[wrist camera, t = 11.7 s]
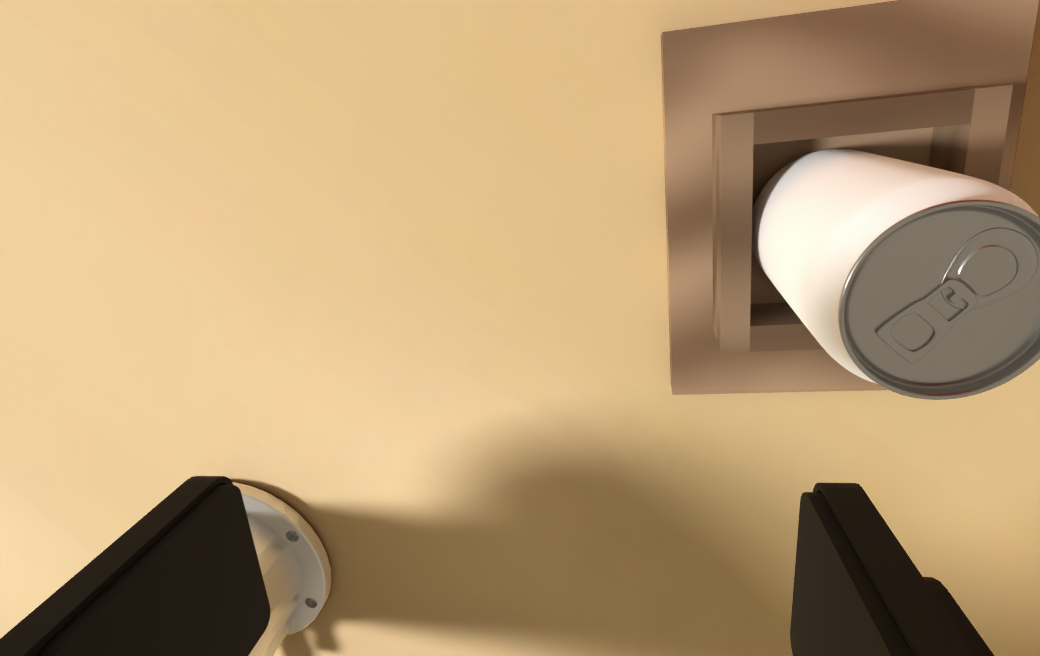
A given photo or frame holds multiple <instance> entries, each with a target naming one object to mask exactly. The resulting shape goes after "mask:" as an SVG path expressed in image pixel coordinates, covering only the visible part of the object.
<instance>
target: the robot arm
mask: <svg viewBox="0 0 1040 656" xmlns="http://www.w3.org/2000/svg"><path fill="white" fill-rule="evenodd" d="M330 587H331V568H330V564H329V560H328V556H327V553H326V551H325V549H324V547H323V545H322V543H321V541H320V539H319V538H318V536H317V535H316V533H315V532H314V530H313V529H312V528H311V526H310V525H309V524H308V523H307V522H306V521H305V520H304V519H303V518H302V517H301V516H300V515H299V513H297V512H296V511H295V510H294V509H292V508H291V507H290V506H288V505H287V504H286V503H285V502H283V501H282V500H280V499H278V498H276V497H275V496H273V495H271V494H269V493H267V492H265V491H262V490H260V489H257V488H255V487H252V486H249V485H244V484H240V483H235V482H232V481H231V480H230V479H229V478H227V477H225V476H195V477H191V478H190V479H188V480H186V481H185V482H184V483H183V484H182V485H181V486H179V487H178V488H177V489H176V490H175V491H174V492H172V493H171V494H170V495H169V496H168V497H167V498H165V499H164V500H163V501H162V502H161V503H159V504H158V505H157V506H156V507H155V508H154V509H152V510H151V511H150V512H149V513H148V514H147V515H145V516H144V517H143V518H142V519H141V520H139V521H138V522H137V523H136V524H135V525H134V526H132V527H131V528H130V529H129V530H128V531H127V532H125V533H124V534H123V535H122V536H121V537H120V538H118V539H117V540H116V541H115V542H114V543H112V544H111V545H110V546H109V547H108V548H107V549H105V550H104V551H103V552H102V553H101V554H100V555H98V556H97V557H96V558H95V559H94V560H92V561H91V562H90V563H89V564H88V565H87V566H85V567H84V568H83V569H82V570H81V571H80V572H78V573H77V574H76V575H75V576H74V577H73V578H71V579H70V580H69V581H68V582H67V583H65V584H64V585H63V586H62V587H61V588H60V589H58V590H57V591H56V592H55V593H54V594H53V595H51V596H50V597H49V598H48V599H47V600H46V601H44V602H43V603H42V604H41V605H40V606H38V607H37V608H36V609H35V610H34V611H33V612H31V613H30V614H29V615H28V616H27V617H26V618H24V619H23V620H22V621H21V622H20V623H18V624H17V625H16V626H15V627H14V628H13V629H11V630H10V631H9V632H8V633H7V634H6V635H4V636H3V637H2V638H1V639H0V656H273V655H274V653H275V651H276V650H277V648H278V647H279V645H280V644H281V642H282V641H283V639H284V638H285V636H287V635H291V634H294V633H296V632H298V631H300V630H302V629H304V628H306V627H307V626H308V625H309V624H310V623H311V622H312V621H314V620H315V618H316V617H317V615H318V614H319V612H320V611H321V609H322V608H323V606H324V604H325V602H326V600H327V598H328V596H329V592H330ZM790 637H791V647H792V652H793V656H994V655H993V653H992V652H991V650H990V649H989V648H988V646H987V645H986V643H985V642H984V641H983V639H982V638H981V636H980V635H979V634H978V632H977V631H976V629H975V628H974V627H973V625H972V624H971V622H970V621H969V620H968V618H967V617H966V615H965V614H964V613H963V611H962V610H961V608H960V607H959V606H958V604H957V603H956V601H955V600H954V599H953V597H952V596H951V594H950V593H949V592H948V590H947V589H946V588H945V587H944V586H943V585H942V583H941V582H940V581H938V580H936V579H934V578H932V577H922V575H921V574H920V572H919V571H918V569H917V568H916V567H915V565H914V564H913V562H912V561H911V559H910V558H909V556H908V555H907V553H906V552H905V550H904V549H903V547H902V546H901V544H900V543H899V542H898V540H897V539H896V537H895V536H894V534H893V533H892V531H891V530H890V528H889V527H888V525H887V524H886V522H885V521H884V519H883V518H882V516H881V515H880V514H879V512H878V511H877V509H876V508H875V506H874V505H873V503H872V502H871V500H870V499H869V497H868V496H867V494H866V493H865V491H864V490H863V488H862V487H861V486H860V485H859V484H856V483H817V484H816V485H815V487H814V489H813V492H804V493H803V494H802V496H801V501H800V513H799V526H798V539H797V552H796V565H795V578H794V591H793V604H792V617H791V630H790Z"/></svg>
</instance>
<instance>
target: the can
mask: <svg viewBox="0 0 1040 656" xmlns="http://www.w3.org/2000/svg"><path fill="white" fill-rule="evenodd" d="M752 250H753V253H754V255H755V258H756V260H757V262H758V263H759V265H760V266H761V268H762V269H763V271H764V272H765V274H766V275H767V276H768V278H769V279H770V280H771V282H772V283H773V284H774V286H775V287H776V288H777V290H778V291H779V292H780V294H781V295H782V296H783V298H784V299H785V300H786V302H787V303H788V304H789V305H790V307H791V308H792V309H793V311H794V312H795V313H796V315H797V316H798V317H799V318H800V320H801V321H802V322H803V324H804V325H805V326H806V327H807V329H808V330H809V331H810V332H811V334H812V335H813V336H814V337H815V339H816V340H817V341H818V342H819V344H820V345H821V346H822V347H823V348H824V349H825V351H826V352H827V353H828V354H829V355H830V356H831V357H832V358H833V359H834V360H835V361H836V362H838V363H839V364H840V365H841V366H843V367H844V368H845V369H847V370H848V371H850V372H851V373H853V374H855V375H857V376H859V377H861V378H863V379H865V380H868V381H870V382H873V383H876V384H879V385H880V386H882V387H884V388H886V389H888V390H891V391H893V392H896V393H898V394H902V395H905V396H909V397H914V398H920V399H933V400H942V399H955V398H962V397H967V396H971V395H975V394H979V393H982V392H985V391H988V390H991V389H993V388H995V387H998V386H1000V385H1002V384H1004V383H1006V382H1008V381H1010V380H1011V379H1013V378H1015V377H1016V376H1018V375H1020V374H1021V373H1023V372H1024V371H1025V370H1027V369H1028V368H1029V367H1031V366H1032V365H1033V364H1034V363H1035V362H1036V361H1038V360H1039V359H1040V217H1039V216H1038V215H1037V214H1036V212H1035V211H1034V210H1033V209H1032V208H1031V207H1030V206H1029V205H1028V204H1027V203H1026V202H1025V201H1023V200H1022V199H1021V198H1019V197H1018V196H1017V195H1015V194H1013V193H1012V192H1010V191H1008V190H1006V189H1004V188H1002V187H1000V186H998V185H996V184H993V183H991V182H988V181H985V180H981V179H978V178H974V177H971V176H967V175H963V174H959V173H955V172H951V171H946V170H942V169H938V168H934V167H929V166H925V165H921V164H916V163H912V162H907V161H903V160H899V159H894V158H890V157H885V156H881V155H876V154H871V153H867V152H862V151H856V150H850V149H828V150H821V151H817V152H813V153H810V154H807V155H805V156H802V157H800V158H798V159H796V160H794V161H792V162H791V163H789V164H788V165H786V166H785V167H783V168H782V169H781V170H780V171H778V172H777V173H776V174H775V175H774V176H773V177H772V178H771V179H770V180H769V181H768V183H767V184H766V185H765V187H764V188H763V189H762V191H761V193H760V194H759V196H758V198H757V200H756V202H755V205H754V207H753V211H752Z"/></svg>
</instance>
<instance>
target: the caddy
mask: <svg viewBox="0 0 1040 656" xmlns="http://www.w3.org/2000/svg"><path fill="white" fill-rule="evenodd" d="M1038 5H1039V0H898V1H891V2H883V3H876V4H868V5H861V6H853V7H846V8H839V9H831V10H824V11H816V12H809V13H801V14H794V15H787V16H779V17H772V18H764V19H757V20H749V21H742V22H735V23H727V24H720V25H712V26H705V27H697V28H690V29H683V30H675V31H668V32H662V34H661V54H662V89H663V124H664V159H665V194H666V228H667V263H668V298H669V333H670V368H671V386H672V394H673V395H680V394H726V393H772V392H817V391H863V390H888V389H886V388H884V387H882V386H880V385H879V384H876V383H873V382H870V381H868V380H865V379H863V378H861V377H859V376H857V375H855V374H853V373H851V372H850V371H848V370H847V369H845V368H844V367H843V366H841V365H840V364H839V363H838V362H836V361H835V360H834V359H833V358H832V357H831V356H830V355H829V354H828V353H827V352H826V351H825V349H824V348H823V347H822V346H821V345H820V344H819V342H818V341H817V340H816V339H815V337H814V336H813V335H812V334H811V332H810V331H809V330H808V329H807V327H806V326H805V325H804V324H803V322H802V321H801V320H800V318H799V317H798V316H797V315H796V313H795V312H794V311H793V309H792V308H791V307H790V305H789V304H788V303H787V302H786V300H785V299H784V298H783V296H782V295H781V294H780V292H779V291H778V290H777V288H776V287H775V286H774V284H773V283H772V282H771V280H770V279H769V278H768V276H767V275H766V274H765V272H764V271H763V269H762V268H761V266H760V265H759V263H758V262H757V260H756V258H755V255H754V253H753V250H752V211H753V207H754V205H755V202H756V200H757V198H758V196H759V194H760V193H761V191H762V189H763V188H764V187H765V185H766V184H767V183H768V181H769V180H770V179H771V178H772V177H773V176H774V175H775V174H776V173H777V172H778V171H780V170H781V169H782V168H783V167H785V166H786V165H788V164H789V163H791V162H792V161H794V160H796V159H798V158H800V157H802V156H805V155H807V154H810V153H813V152H817V151H821V150H828V149H850V150H856V151H862V152H867V153H871V154H876V155H881V156H885V157H890V158H894V159H899V160H903V161H907V162H912V163H916V164H921V165H925V166H929V167H934V168H938V169H942V170H946V171H951V172H955V173H959V174H963V175H967V176H971V177H974V178H978V179H981V180H985V181H988V182H991V183H993V184H996V185H998V186H1000V187H1002V188H1004V189H1006V190H1008V191H1010V185H1011V179H1012V172H1013V166H1014V159H1015V153H1016V147H1017V140H1018V134H1019V127H1020V121H1021V114H1022V108H1023V102H1024V95H1025V89H1026V82H1027V76H1028V70H1029V63H1030V57H1031V50H1032V44H1033V37H1034V31H1035V25H1036V18H1037V12H1038Z"/></svg>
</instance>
